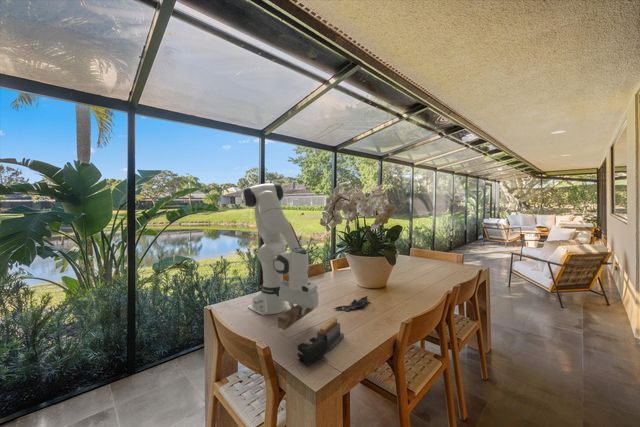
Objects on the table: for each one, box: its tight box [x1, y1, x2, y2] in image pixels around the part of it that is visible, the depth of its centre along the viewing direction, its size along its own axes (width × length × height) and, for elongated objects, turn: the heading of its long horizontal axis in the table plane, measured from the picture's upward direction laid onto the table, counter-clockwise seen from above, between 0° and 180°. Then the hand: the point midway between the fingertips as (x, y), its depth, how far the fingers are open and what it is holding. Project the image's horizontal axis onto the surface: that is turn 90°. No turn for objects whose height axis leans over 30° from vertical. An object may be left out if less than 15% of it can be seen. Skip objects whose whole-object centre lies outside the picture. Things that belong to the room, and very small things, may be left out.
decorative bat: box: [333, 295, 370, 312], centre depth 152 cm, size 30×4×10 cm
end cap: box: [297, 337, 328, 366], centre depth 101 cm, size 10×7×7 cm
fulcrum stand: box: [316, 317, 345, 351], centre depth 114 cm, size 8×13×8 cm, turn 149°
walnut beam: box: [277, 304, 315, 331], centre depth 120 cm, size 24×4×5 cm, turn 150°
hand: (297, 312), depth 120 cm, fingers closed on walnut beam, 3 cm apart
